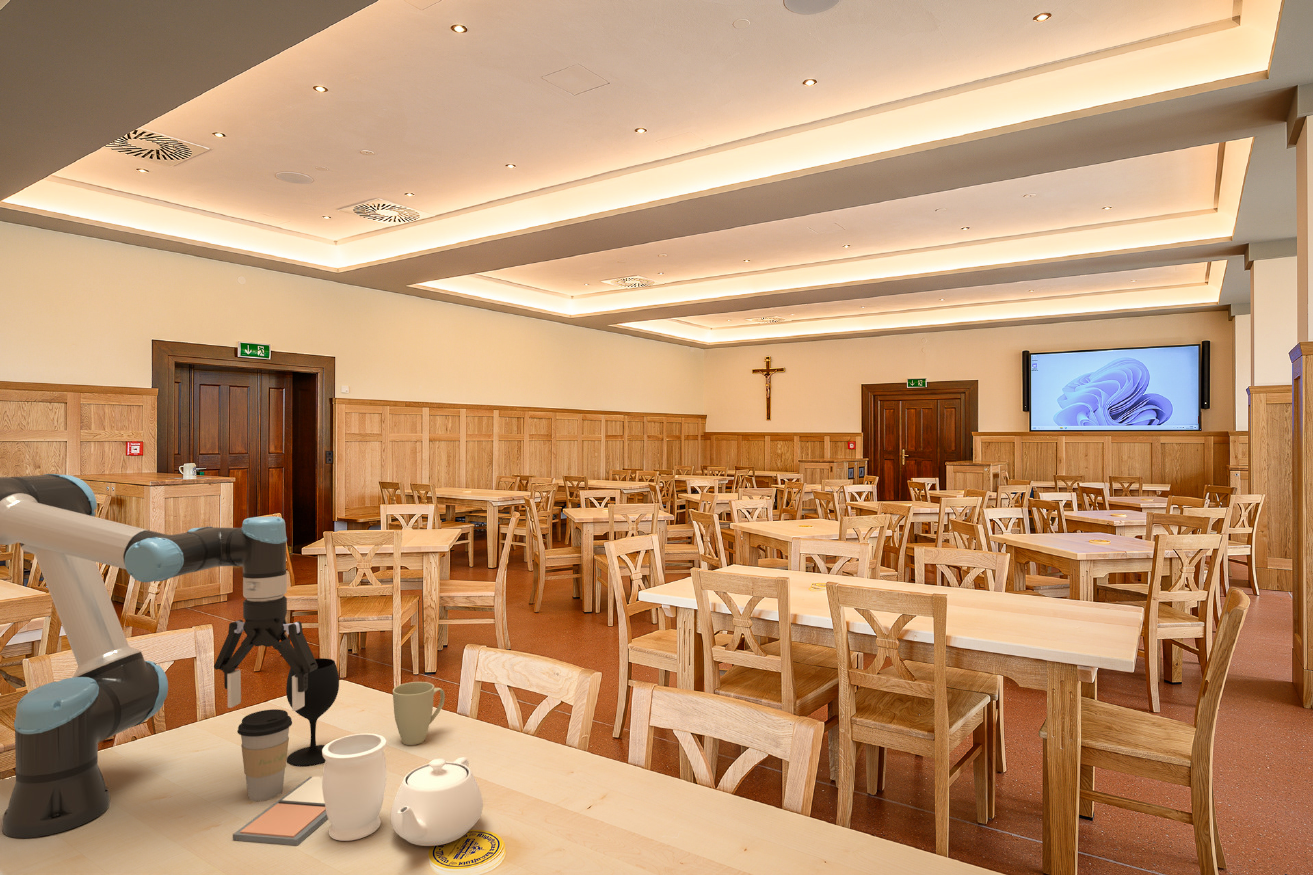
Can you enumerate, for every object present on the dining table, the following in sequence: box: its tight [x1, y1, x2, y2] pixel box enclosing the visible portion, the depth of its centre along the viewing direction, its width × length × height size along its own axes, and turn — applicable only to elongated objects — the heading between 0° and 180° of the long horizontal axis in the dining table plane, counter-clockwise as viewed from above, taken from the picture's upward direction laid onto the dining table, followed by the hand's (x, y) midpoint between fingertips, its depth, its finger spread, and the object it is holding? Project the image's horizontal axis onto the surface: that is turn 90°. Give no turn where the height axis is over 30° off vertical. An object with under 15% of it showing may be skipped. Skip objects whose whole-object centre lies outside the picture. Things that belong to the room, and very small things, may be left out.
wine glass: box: [285, 658, 340, 768], centre depth 162 cm, size 10×10×20 cm
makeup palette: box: [232, 776, 329, 847], centre depth 138 cm, size 12×22×2 cm, turn 172°
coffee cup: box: [237, 708, 293, 802], centre depth 145 cm, size 9×9×15 cm
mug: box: [392, 681, 446, 746], centre depth 171 cm, size 11×10×12 cm
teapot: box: [390, 756, 484, 847], centre depth 131 cm, size 25×16×12 cm, turn 170°
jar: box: [321, 733, 388, 842], centre depth 132 cm, size 11×10×15 cm
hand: (266, 706), depth 145 cm, fingers open, 13 cm apart
